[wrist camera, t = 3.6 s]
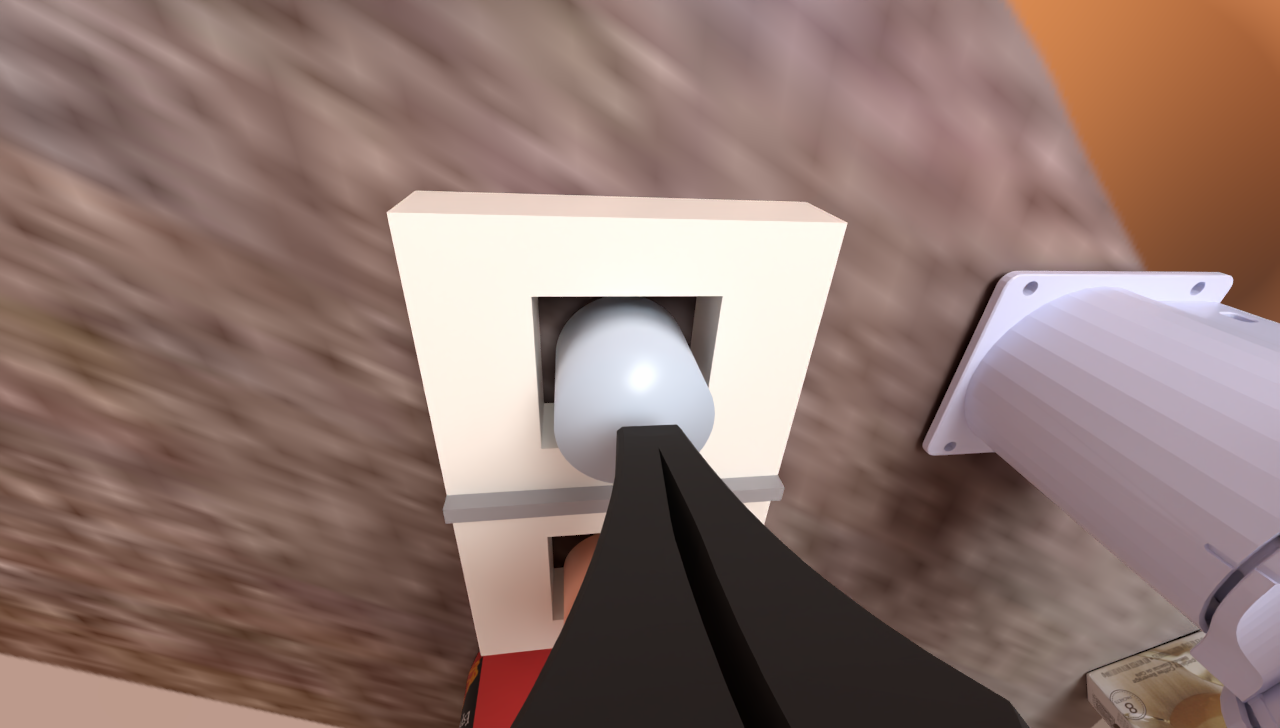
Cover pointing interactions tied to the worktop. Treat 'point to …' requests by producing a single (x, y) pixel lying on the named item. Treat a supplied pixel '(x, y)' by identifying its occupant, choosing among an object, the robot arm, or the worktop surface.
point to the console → (512, 367)
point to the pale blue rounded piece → (624, 381)
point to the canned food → (500, 687)
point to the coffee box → (1158, 689)
